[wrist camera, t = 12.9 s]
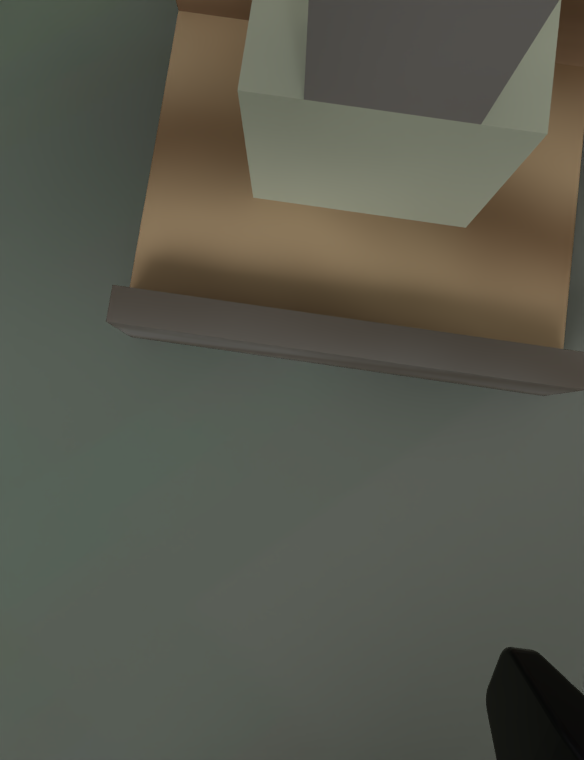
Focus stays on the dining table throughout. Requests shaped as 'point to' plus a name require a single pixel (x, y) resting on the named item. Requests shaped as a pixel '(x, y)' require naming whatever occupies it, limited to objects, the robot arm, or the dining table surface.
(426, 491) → the dining table surface
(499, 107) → the sage cabinet
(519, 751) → the robot arm
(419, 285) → the cleat board
